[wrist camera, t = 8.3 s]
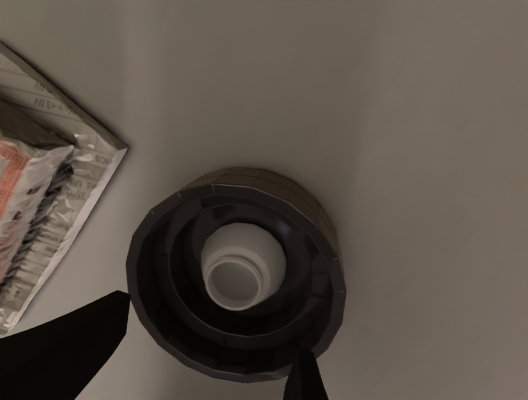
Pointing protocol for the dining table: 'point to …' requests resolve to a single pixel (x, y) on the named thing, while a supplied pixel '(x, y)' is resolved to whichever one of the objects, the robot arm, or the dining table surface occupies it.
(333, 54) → the dining table surface
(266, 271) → the white jar
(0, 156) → the packaged product
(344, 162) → the dining table surface
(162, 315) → the bowl
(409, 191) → the dining table surface
